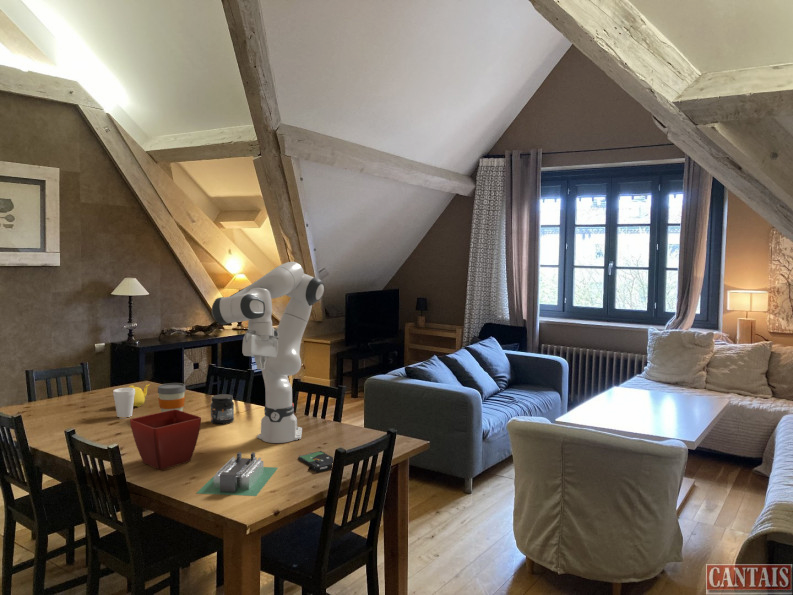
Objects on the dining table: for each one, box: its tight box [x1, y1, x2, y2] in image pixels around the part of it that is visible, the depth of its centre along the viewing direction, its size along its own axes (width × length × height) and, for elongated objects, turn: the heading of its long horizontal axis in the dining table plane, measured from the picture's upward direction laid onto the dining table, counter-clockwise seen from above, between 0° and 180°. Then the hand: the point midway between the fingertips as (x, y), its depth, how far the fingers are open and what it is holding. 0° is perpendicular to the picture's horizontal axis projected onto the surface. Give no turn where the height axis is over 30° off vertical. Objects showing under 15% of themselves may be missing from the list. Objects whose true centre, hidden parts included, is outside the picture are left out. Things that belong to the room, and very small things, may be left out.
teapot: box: [128, 383, 151, 408], centre depth 309 cm, size 18×11×11 cm, turn 135°
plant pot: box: [129, 410, 202, 470], centre depth 228 cm, size 19×19×17 cm
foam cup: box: [112, 387, 135, 419], centre depth 290 cm, size 10×9×13 cm
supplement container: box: [210, 393, 235, 425], centre depth 283 cm, size 10×10×12 cm
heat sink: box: [213, 451, 264, 493], centre depth 207 cm, size 20×12×7 cm, turn 175°
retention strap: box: [228, 457, 251, 475], centre depth 208 cm, size 17×3×2 cm, turn 175°
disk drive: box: [297, 450, 334, 474], centre depth 228 cm, size 10×3×15 cm
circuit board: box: [195, 466, 279, 497], centre depth 209 cm, size 26×20×1 cm
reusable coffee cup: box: [157, 382, 186, 413], centre depth 291 cm, size 13×13×15 cm
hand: (260, 369), depth 223 cm, fingers closed
